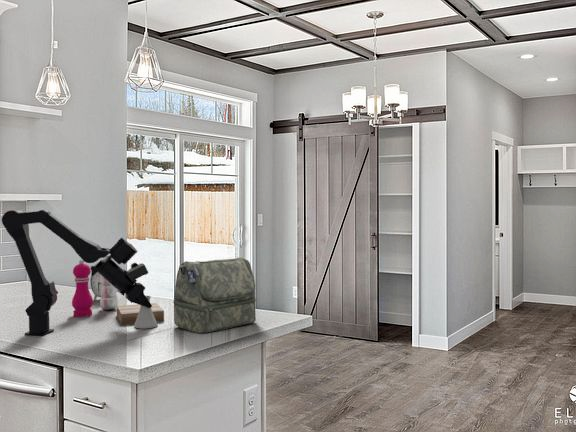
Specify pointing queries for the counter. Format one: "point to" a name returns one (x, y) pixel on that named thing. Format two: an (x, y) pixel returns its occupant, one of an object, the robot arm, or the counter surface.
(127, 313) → the board
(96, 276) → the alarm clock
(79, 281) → the pepper mill
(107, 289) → the plastic bottle
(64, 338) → the counter surface
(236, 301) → the lunch bag
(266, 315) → the counter surface
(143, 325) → the flask
